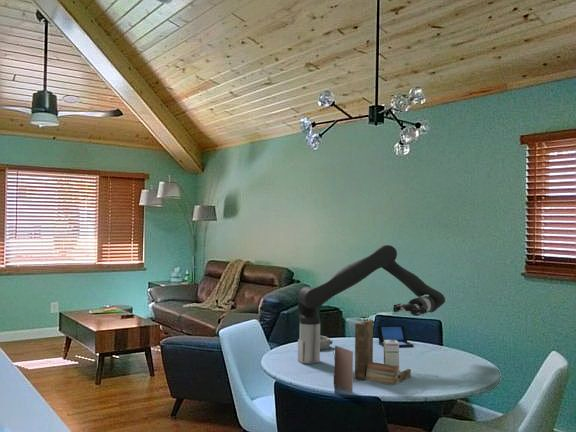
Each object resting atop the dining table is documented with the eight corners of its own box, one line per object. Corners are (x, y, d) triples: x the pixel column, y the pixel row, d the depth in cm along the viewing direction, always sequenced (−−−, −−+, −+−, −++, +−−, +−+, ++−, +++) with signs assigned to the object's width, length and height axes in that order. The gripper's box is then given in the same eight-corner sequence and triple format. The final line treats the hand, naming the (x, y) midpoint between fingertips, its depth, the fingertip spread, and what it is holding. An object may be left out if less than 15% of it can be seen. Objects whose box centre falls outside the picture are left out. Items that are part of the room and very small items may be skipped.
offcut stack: (393, 385, 207) (393, 369, 208) (365, 379, 215) (365, 364, 215) (400, 382, 212) (400, 366, 212) (372, 376, 220) (372, 361, 220)
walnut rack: (391, 386, 206) (391, 328, 206) (354, 379, 216) (355, 323, 216) (410, 376, 220) (411, 322, 220) (375, 370, 230) (376, 318, 230)
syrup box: (399, 379, 217) (399, 342, 217) (384, 378, 217) (385, 342, 217) (397, 375, 222) (397, 339, 223) (383, 374, 223) (383, 339, 223)
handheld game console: (385, 348, 272) (385, 330, 272) (375, 343, 285) (375, 325, 285) (414, 347, 275) (414, 329, 275) (403, 342, 288) (403, 324, 288)
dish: (310, 351, 263) (310, 341, 263) (298, 345, 275) (298, 335, 275) (336, 349, 268) (336, 339, 268) (323, 343, 281) (323, 334, 281)
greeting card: (332, 384, 208) (332, 345, 208) (351, 385, 207) (352, 345, 208) (332, 393, 197) (332, 352, 197) (352, 394, 196) (353, 352, 196)
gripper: (404, 296, 246) (388, 300, 233) (434, 299, 238) (419, 303, 225) (404, 312, 246) (388, 317, 233) (434, 316, 238) (419, 321, 225)
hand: (403, 310), depth 229 cm, fingers open, 8 cm apart
